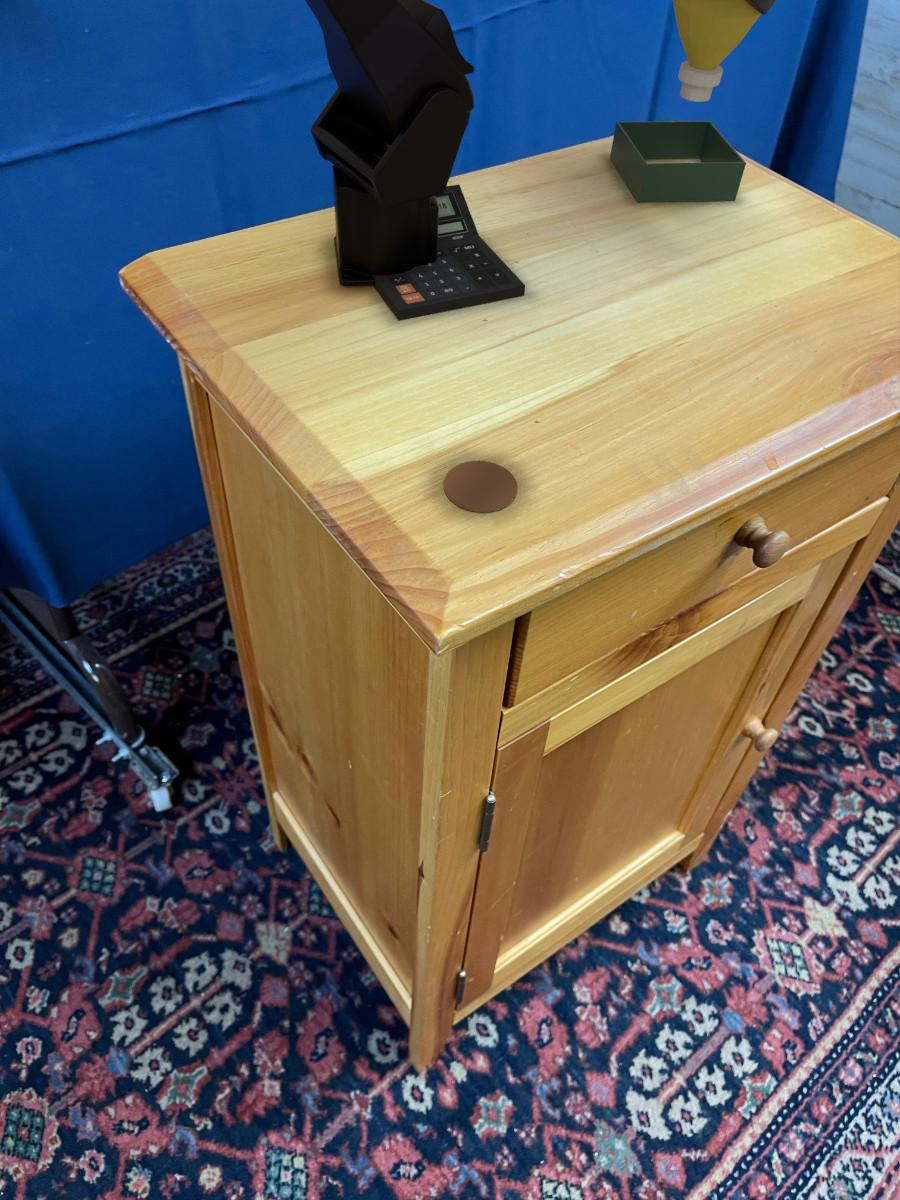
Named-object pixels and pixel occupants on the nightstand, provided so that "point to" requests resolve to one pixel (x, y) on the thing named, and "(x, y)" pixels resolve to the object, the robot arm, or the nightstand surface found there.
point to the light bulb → (709, 40)
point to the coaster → (480, 486)
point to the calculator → (451, 269)
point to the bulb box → (676, 179)
